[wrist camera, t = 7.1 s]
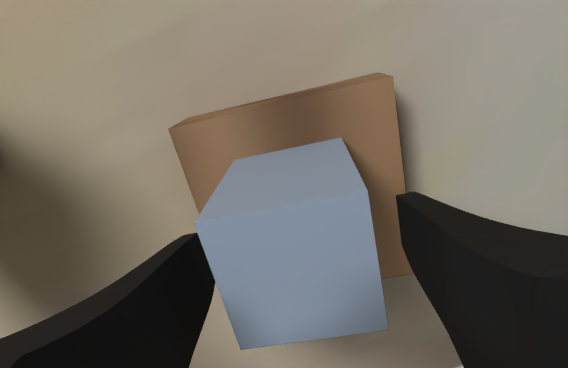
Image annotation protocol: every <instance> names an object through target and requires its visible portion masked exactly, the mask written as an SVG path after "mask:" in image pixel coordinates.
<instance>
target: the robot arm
mask: <svg viewBox="0 0 568 368" xmlns="http://www.w3.org/2000/svg"><path fill="white" fill-rule="evenodd" d="M396 203H397V211H398V219H399V227H400V235H401V244H402V247H403V250H404V252H405V255H406V257H407V260H408V262H409V265H410V267H411V269H412V271H413V273H414V274H415V276H416V278H417V280H418V281H419V283H420V285H421V287H422V288H423V290H424V292H425V293H426V295H427V297H428V298H429V300H430V302H431V304H432V305H433V307H434V309H435V310H436V312H437V314H438V315H439V317H440V319H441V321H442V322H443V324H444V326H445V328H446V330H447V332H448V334H449V336H450V338H451V340H452V342H453V344H454V347H455V349H456V351H457V353H458V355H459V358H460V360H461V362H462V364H463V366H464V368H568V236H565V235H559V234H553V233H547V232H541V231H535V230H530V229H525V228H521V227H516V226H512V225H508V224H504V223H500V222H496V221H493V220H489V219H486V218H483V217H480V216H477V215H474V214H471V213H468V212H465V211H462V210H460V209H457V208H454V207H452V206H449V205H447V204H444V203H442V202H439V201H437V200H435V199H432V198H430V197H427V196H425V195H422V194H420V193H417V192H409V193H404V194H399V195H396ZM214 286H215V279H214V276H213V274H212V271H211V268H210V266H209V263H208V260H207V257H206V255H205V252H204V249H203V247H202V244H201V241H200V239H199V236H198V233H193V234H187V235H183V236H181V237H180V238H178V239H176V240H175V241H173V242H172V243H170V244H169V245H167V246H166V247H164V248H163V249H162V250H160V251H159V252H157V253H156V254H155V255H153V256H152V257H150V258H149V259H148V260H146V261H145V262H143V263H142V264H141V265H139V266H138V267H136V268H135V269H133V270H132V271H130V272H129V273H127V274H126V275H125V276H123V277H122V278H120V279H119V280H117V281H116V282H114V283H112V284H111V285H109V286H108V287H106V288H104V289H103V290H101V291H99V292H98V293H96V294H94V295H92V296H91V297H89V298H87V299H85V300H84V301H82V302H80V303H78V304H76V305H74V306H72V307H70V308H68V309H66V310H64V311H62V312H60V313H58V314H56V315H54V316H52V317H50V318H48V319H46V320H44V321H41V322H39V323H37V324H35V325H32V326H30V327H28V328H26V329H23V330H21V331H18V332H16V333H14V334H11V335H9V336H6V337H4V338H1V339H0V368H189V365H190V362H191V358H192V355H193V352H194V350H195V347H196V344H197V341H198V338H199V336H200V333H201V330H202V327H203V324H204V322H205V319H206V316H207V313H208V310H209V307H210V304H211V301H212V296H213V292H214Z"/></svg>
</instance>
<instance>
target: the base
mask: <svg viewBox="0 0 568 368" xmlns="http://www.w3.org/2000/svg"><path fill="white" fill-rule="evenodd" d="M168 130H169V133H170V135H171V138H172V141H173V144H174V146H175V149H176V152H177V155H178V157H179V160H180V163H181V165H182V168H183V171H184V174H185V176H186V179H187V182H188V185H189V187H190V190H191V193H192V196H193V198H194V201H195V204H196V207H197V209H198V212H199V214H200V213H201V211H202V210H203V208H204V207H205V205H206V204H207V202H208V200H209V199H210V197H211V196H212V194H213V193H214V191H215V189H216V188H217V186H218V185H219V183H220V182H221V180H222V178H223V177H224V175H225V174H226V172H227V171H228V169H229V167H230V166H231V164H232V163H233V161H234V160H237V159H242V158H247V157H251V156H256V155H261V154H265V153H270V152H275V151H280V150H284V149H289V148H294V147H298V146H303V145H308V144H313V143H317V142H322V141H327V140H331V139H336V138H342V140H343V142H344V144H345V146H346V148H347V150H348V152H349V154H350V156H351V158H352V160H353V162H354V164H355V166H356V168H357V170H358V172H359V174H360V176H361V178H362V180H363V182H364V184H365V186H366V188H367V190H368V197H369V203H370V210H371V216H372V223H373V230H374V236H375V243H376V250H377V256H378V263H379V269H380V276H381V278H388V277H394V276H400V275H407V274H413V271H412V269H411V267H410V265H409V262H408V260H407V257H406V255H405V252H404V250H403V247H402V244H401V235H400V227H399V219H398V211H397V203H396V195H399V194H404V193H406V192H405V183H404V174H403V165H402V156H401V147H400V138H399V129H398V119H397V110H396V101H395V92H394V83H393V76H390V75H386V74H381V73H375V74H371V75H366V76H362V77H358V78H354V79H350V80H345V81H341V82H337V83H333V84H329V85H324V86H320V87H316V88H312V89H308V90H303V91H299V92H295V93H291V94H287V95H283V96H278V97H274V98H270V99H266V100H262V101H257V102H253V103H249V104H245V105H241V106H236V107H232V108H228V109H224V110H220V111H215V112H211V113H207V114H203V115H199V116H194V117H190V118H187V119H185V120H184V121H182V122H180V123H178V124H176V125H175V126H173V127H171V128H169V129H168Z"/></svg>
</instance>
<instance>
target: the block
mask: <svg viewBox="0 0 568 368" xmlns="http://www.w3.org/2000/svg"><path fill="white" fill-rule="evenodd" d="M194 225H195V228H196V231H197V233H198V236H199V239H200V241H201V244H202V247H203V249H204V252H205V255H206V257H207V260H208V263H209V266H210V268H211V271H212V274H213V276H214V279H215V282H216V284H217V287H218V290H219V292H220V295H221V298H222V300H223V303H224V306H225V309H226V311H227V314H228V317H229V319H230V322H231V325H232V327H233V330H234V333H235V335H236V338H237V341H238V343H239V346H240V349H241V350H243V349H251V348H258V347H266V346H273V345H281V344H288V343H296V342H303V341H310V340H318V339H325V338H333V337H340V336H348V335H355V334H363V333H370V332H378V331H385V330H389V329H388V322H387V316H386V309H385V303H384V296H383V289H382V283H381V276H380V269H379V263H378V256H377V250H376V243H375V236H374V230H373V223H372V216H371V210H370V203H369V197H368V190H367V188H366V186H365V184H364V182H363V180H362V178H361V176H360V174H359V172H358V170H357V168H356V166H355V164H354V162H353V160H352V158H351V156H350V154H349V152H348V150H347V148H346V146H345V144H344V142H343V140H342V138H336V139H331V140H327V141H322V142H317V143H313V144H308V145H303V146H298V147H294V148H289V149H284V150H280V151H275V152H270V153H265V154H261V155H256V156H251V157H247V158H242V159H237V160H234V161H233V163H232V164H231V166H230V167H229V169H228V171H227V172H226V174H225V175H224V177H223V178H222V180H221V182H220V183H219V185H218V186H217V188H216V189H215V191H214V193H213V194H212V196H211V197H210V199H209V200H208V202H207V204H206V205H205V207H204V208H203V210H202V211H201V213H200V214H199V216H198V218H197V219H196V221H195V222H194Z"/></svg>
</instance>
